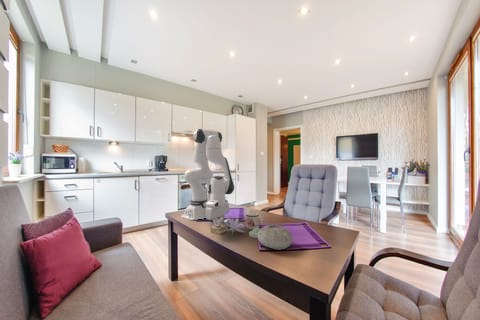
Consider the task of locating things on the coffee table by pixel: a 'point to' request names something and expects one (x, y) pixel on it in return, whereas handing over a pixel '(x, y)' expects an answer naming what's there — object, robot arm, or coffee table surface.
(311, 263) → the coffee table surface
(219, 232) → the tensioner block
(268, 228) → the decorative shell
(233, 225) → the water lily
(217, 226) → the lock pin
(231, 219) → the pulley
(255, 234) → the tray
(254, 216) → the teacup with lid
